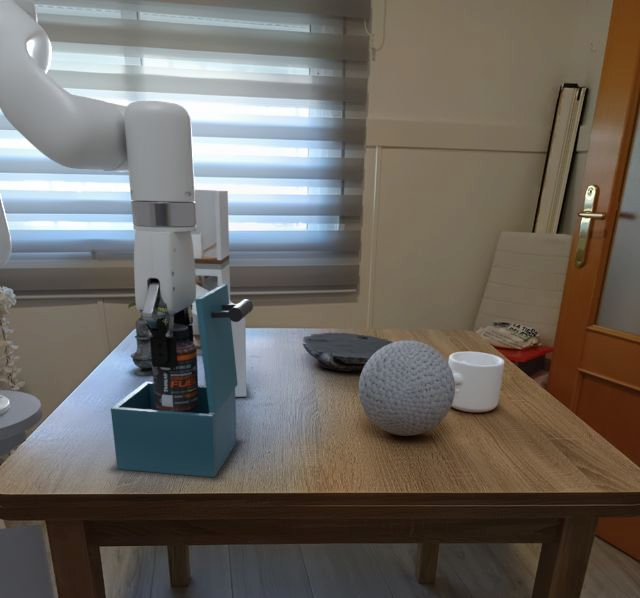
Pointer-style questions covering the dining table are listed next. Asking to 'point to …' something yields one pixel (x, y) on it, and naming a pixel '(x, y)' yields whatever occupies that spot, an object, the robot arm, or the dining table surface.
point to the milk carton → (239, 355)
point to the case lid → (219, 342)
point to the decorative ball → (406, 388)
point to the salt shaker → (142, 349)
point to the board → (343, 349)
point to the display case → (210, 247)
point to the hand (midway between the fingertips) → (174, 358)
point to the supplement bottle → (178, 376)
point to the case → (172, 435)
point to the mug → (476, 380)
